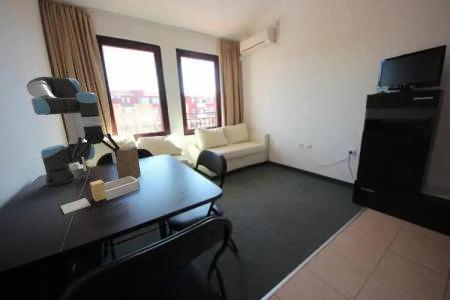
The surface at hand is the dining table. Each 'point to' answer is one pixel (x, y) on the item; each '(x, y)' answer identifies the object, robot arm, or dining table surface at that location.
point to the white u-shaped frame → (121, 187)
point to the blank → (98, 190)
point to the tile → (75, 206)
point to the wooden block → (127, 162)
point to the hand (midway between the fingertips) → (100, 166)
